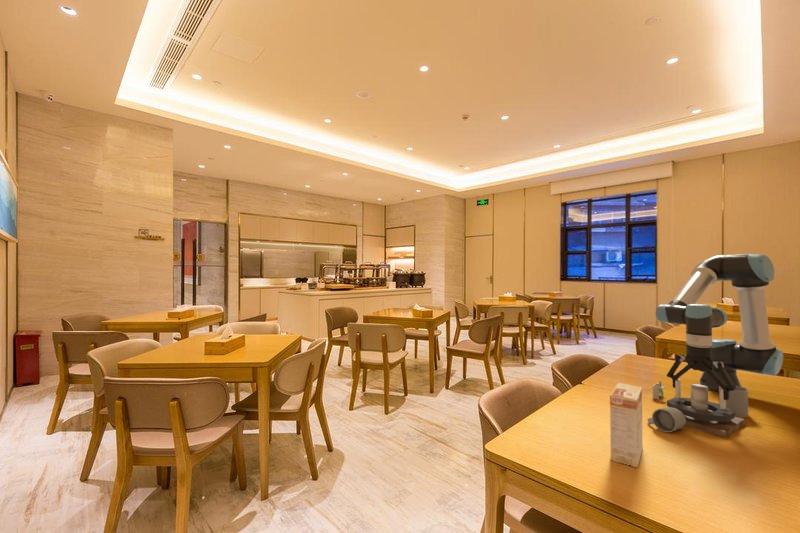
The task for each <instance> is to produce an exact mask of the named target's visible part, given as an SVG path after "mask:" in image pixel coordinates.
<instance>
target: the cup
mask: <svg viewBox="0 0 800 533" xmlns="http://www.w3.org/2000/svg"><path fill="white" fill-rule="evenodd" d="M726 385H727V384H726ZM720 390H722V388H721V387H720V386H719V391H718V392H719V393H718V395H719V396H718V397H719V399H718V400H719V402H718V404H720ZM726 407H727V408H728V409H730V410H732V411H734V412H735V417H738V418H749V390H748V388H746V387H743V386H742V387H740V386H736V389H735V390H733V391H729V400H726Z"/></svg>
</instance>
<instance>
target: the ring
mask: <svg viewBox="0 0 800 533" xmlns="http://www.w3.org/2000/svg"><path fill="white" fill-rule="evenodd" d="M686 406H691V397H682V396H681V397H679V398H676V396H675V397H673V398H670V399H668V400H666V407H672V408H676V409H678V410H680V411H681V412H682V413H683V414H684V415H686V416H689V417H693V418H696V419H700V420H706V421H718V422H728V421H730V420H732V419H733V418H735V417H736V416H735V412H734V411H732V410H730V409H728V408H727V407H726V408H725V409H720V404H719V403H716V402H713V401H710V400H708V409H709V410H712V411H713V412H712V411H700V410H697V409H693V408H689V407H686Z"/></svg>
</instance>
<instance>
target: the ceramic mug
mask: <svg viewBox="0 0 800 533" xmlns="http://www.w3.org/2000/svg"><path fill="white" fill-rule="evenodd" d="M651 415H652V416H651V417H649V418H647V422H648V424H654V426H655V428H657V429H658V430H660V431H662V432H664V433H672V432H674V431H678V430H680V429H682V428H683V427H685V426H684V425H685V423H686V419H685V416H684V414H683V413H682V412H681V411H680V410H678V409H676V408H672V407H668V406H666V407H663V408H658V409H655V410H654V411H653V412H652V414H651Z"/></svg>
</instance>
